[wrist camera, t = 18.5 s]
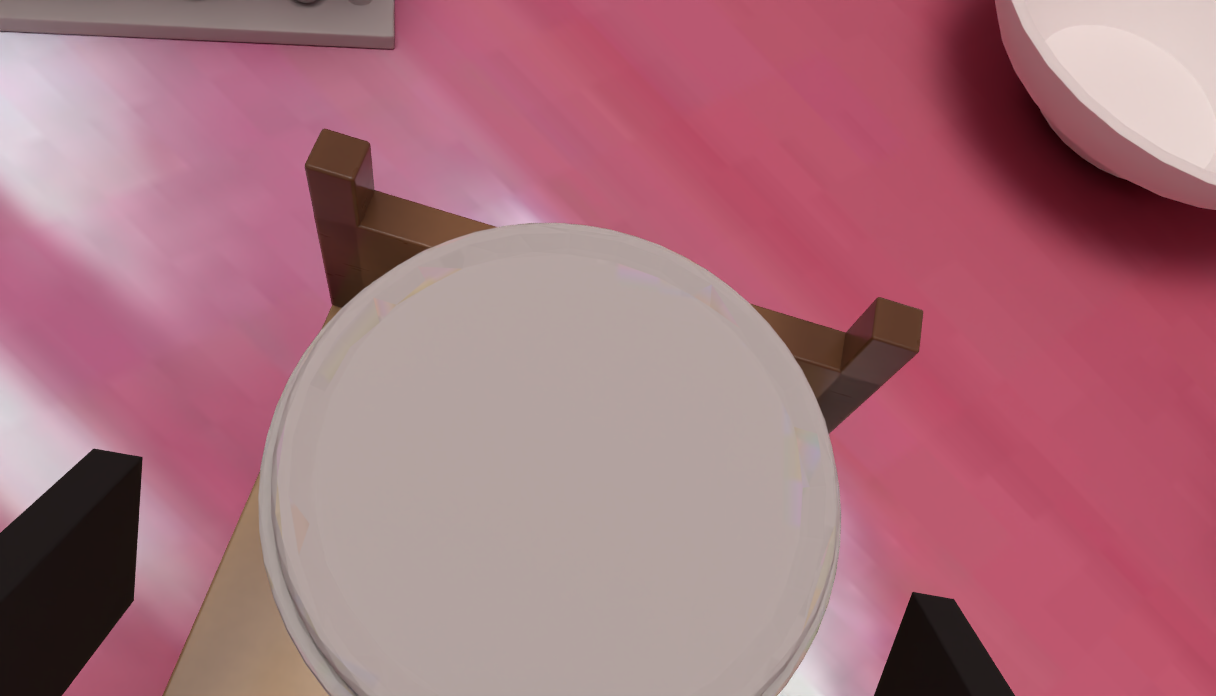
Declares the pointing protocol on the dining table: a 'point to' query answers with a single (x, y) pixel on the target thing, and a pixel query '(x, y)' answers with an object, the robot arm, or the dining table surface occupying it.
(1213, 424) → the dining table surface
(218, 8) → the test tube rack
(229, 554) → the wooden chair
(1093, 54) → the bowl
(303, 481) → the coffee cup
